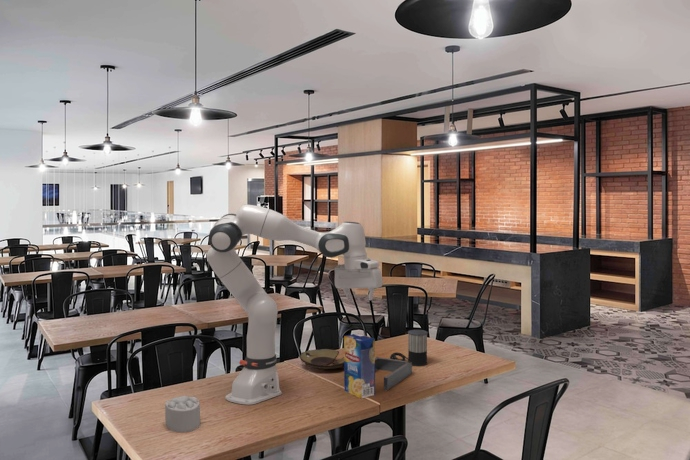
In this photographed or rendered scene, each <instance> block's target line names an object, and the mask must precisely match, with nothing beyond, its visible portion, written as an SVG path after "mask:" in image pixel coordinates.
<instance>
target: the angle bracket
mask: <svg viewBox="0 0 690 460" xmlns="http://www.w3.org/2000/svg"><path fill="white" fill-rule="evenodd" d="M401 360H402V359H401ZM401 360H400V359H398V360H394V359H390V358H387V357H386V358H385V357H378V356H375V372H377V371H378V370H381V371H387V372H391V373H388V374H387V375H385V376H384V377H383V390H384V391H389V390H390V389H392V388H393V387H395V386H396V385H398V384H399V383H400V382H401V381H403V380H405V379H406V378H407V377H409V376H410V375H412V374H413V365H412V362H408V360H405V361H401Z"/></svg>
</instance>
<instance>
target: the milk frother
mask: <svg viewBox="0 0 690 460" xmlns="http://www.w3.org/2000/svg"><path fill="white" fill-rule="evenodd" d="M428 333H429V332H428V331H426V330H423V329H410V330H408V331H407V335H408V336H407V337H408V340H407V341H408V344H407V345H408V347H407V348H408V352H407V353H408V357H406V356H405V354H403V353H400V352H393V353H392V354H391V355H390V356H389V359H394V360H399V358H398V357H397V356H399V357H401V358H402V359H401V361H406V360H407V362H412V366H415V367H417V366H418V367H422V366H426V365H428Z"/></svg>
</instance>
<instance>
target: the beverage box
mask: <svg viewBox="0 0 690 460" xmlns="http://www.w3.org/2000/svg"><path fill="white" fill-rule="evenodd" d="M375 340H376V338H374V337H372V336H371V337H370V336H367V335H364V334H362V333H353V334H352V333H351V334H347V335H344V336H343V357H344V368H343V370H344V374H343V375H344V376H343V377H344V378H343V379H344V382H343V383H344V389H343V390H344V392H346V393H348V394H351V395H353V396H355V397H357V398H359V399H365V398H369V397H371V396H375V395H376V383H375V382H376V371H375V358H376V344H375V343H376V341H375Z"/></svg>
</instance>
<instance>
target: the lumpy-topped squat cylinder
mask: <svg viewBox="0 0 690 460" xmlns="http://www.w3.org/2000/svg"><path fill="white" fill-rule="evenodd" d="M199 401H200V400H198V398H197V396H189V395H182V396H177V397H176V396H175V397H172V398H171V399H169V400H167V401H166V402H165V403H164V406H165V407H164V408H165V409H164V414H165V420H164V421H165V427H166V428H167V429H168V430H170V431H172V432H176V433H188V432H193V431H195V430H197V429H198V428H199V427H200V426H201V407H200V406H201V403H200V402H199Z"/></svg>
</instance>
